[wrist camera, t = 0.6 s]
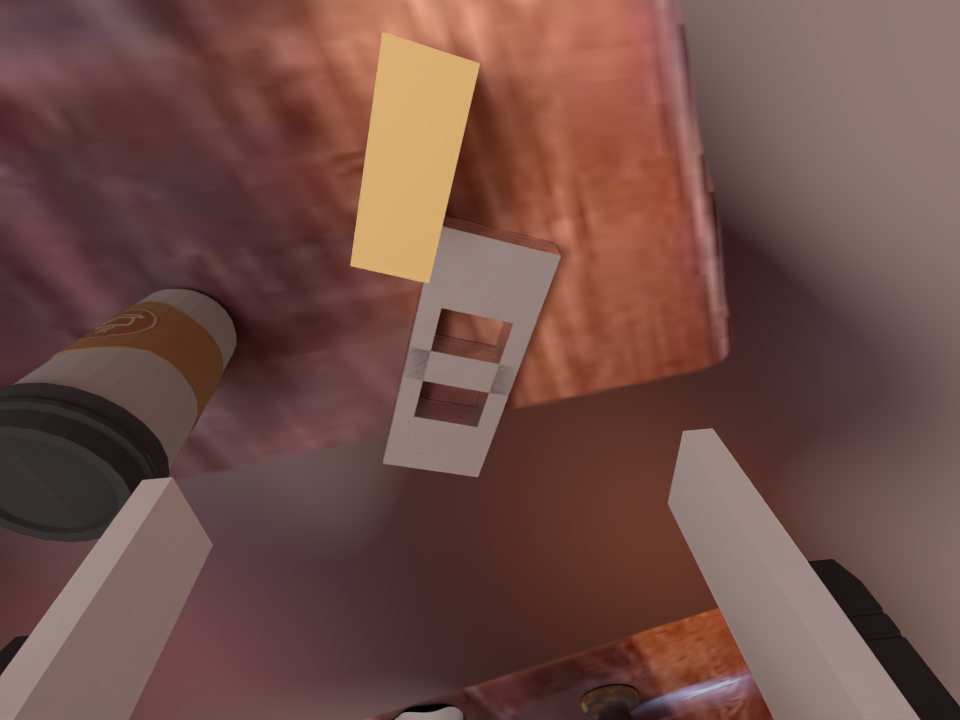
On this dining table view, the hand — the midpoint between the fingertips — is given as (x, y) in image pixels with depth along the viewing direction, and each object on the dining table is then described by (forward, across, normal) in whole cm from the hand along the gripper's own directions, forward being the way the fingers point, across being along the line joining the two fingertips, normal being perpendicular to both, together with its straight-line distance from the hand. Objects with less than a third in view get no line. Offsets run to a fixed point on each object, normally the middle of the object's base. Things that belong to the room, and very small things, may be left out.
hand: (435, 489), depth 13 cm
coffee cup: (+22, -18, -5) cm, 29 cm away
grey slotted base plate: (+22, 0, -9) cm, 24 cm away
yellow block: (+22, -1, +6) cm, 23 cm away
